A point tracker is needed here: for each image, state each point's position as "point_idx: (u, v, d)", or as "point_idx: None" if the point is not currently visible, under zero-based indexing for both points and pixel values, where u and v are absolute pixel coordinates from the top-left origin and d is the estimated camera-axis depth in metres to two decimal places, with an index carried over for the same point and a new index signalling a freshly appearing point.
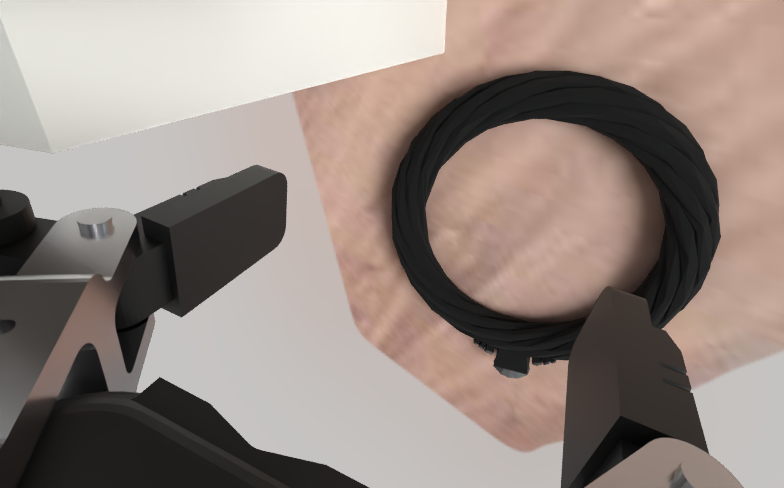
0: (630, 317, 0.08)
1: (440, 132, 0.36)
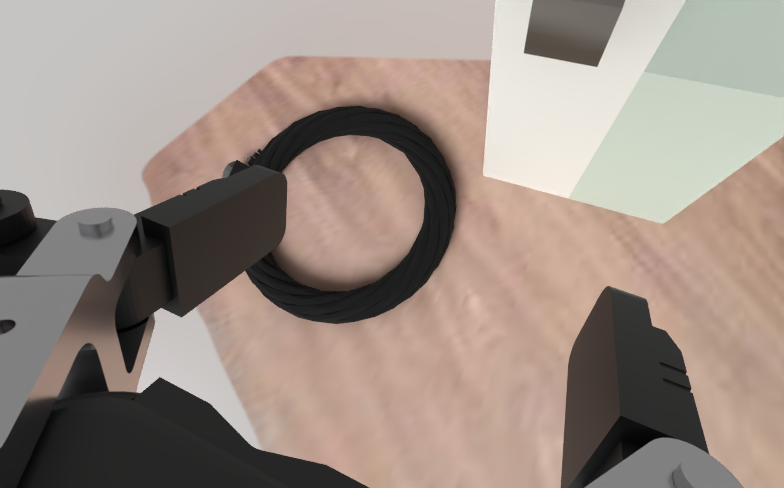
0: (630, 317, 0.08)
1: (431, 157, 0.49)
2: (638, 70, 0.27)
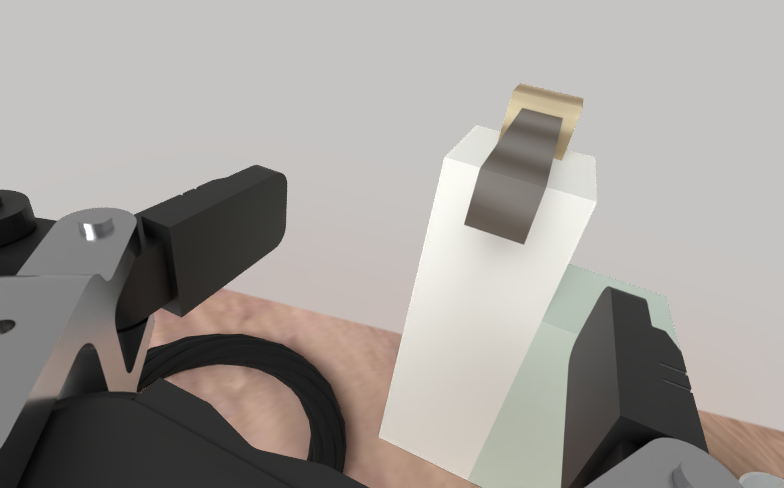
0: (630, 317, 0.08)
1: (328, 402, 0.45)
2: (537, 319, 0.31)
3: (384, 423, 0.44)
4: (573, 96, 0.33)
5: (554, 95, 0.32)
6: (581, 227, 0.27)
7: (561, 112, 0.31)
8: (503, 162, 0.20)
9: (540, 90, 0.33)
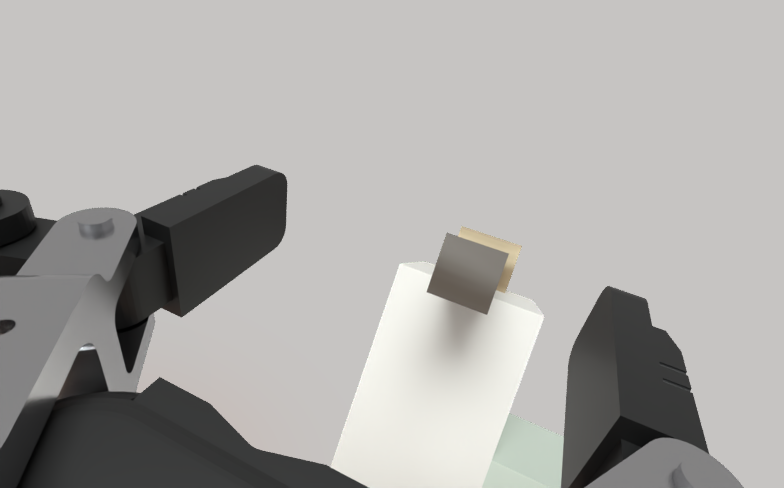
0: (630, 317, 0.08)
1: None
2: (487, 457, 0.28)
3: None
4: None
5: None
6: (530, 343, 0.27)
7: (503, 248, 0.34)
8: None
9: None
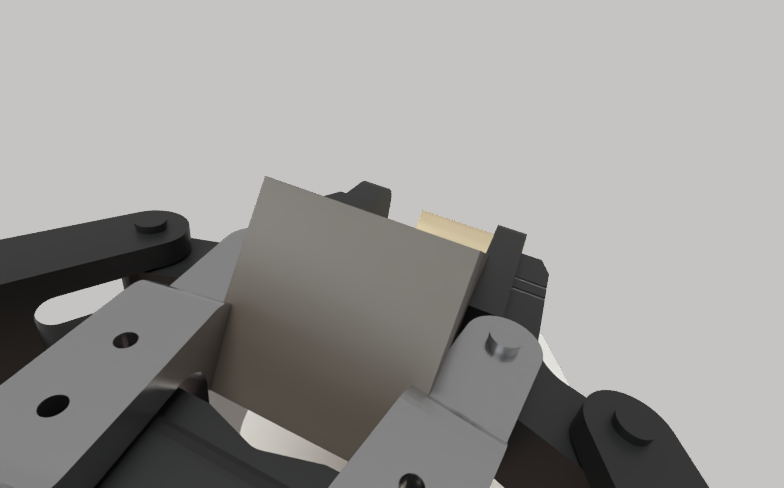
0: (505, 245, 0.09)
1: None
2: None
3: None
4: None
5: None
6: None
7: None
8: None
9: None
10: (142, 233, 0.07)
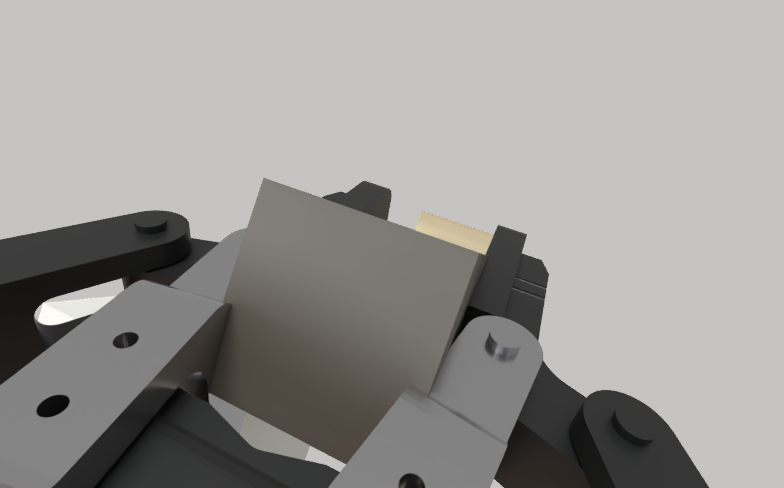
0: (505, 245, 0.09)
1: None
2: None
3: None
4: None
5: None
6: None
7: None
8: (357, 210, 0.07)
9: None
10: (142, 233, 0.07)
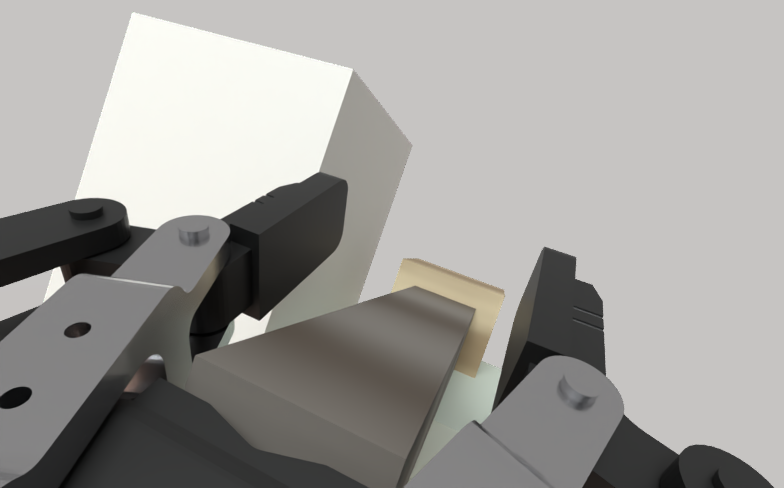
0: (557, 270, 0.09)
1: None
2: None
3: None
4: (490, 285, 0.23)
5: (464, 277, 0.22)
6: (330, 120, 0.15)
7: (473, 299, 0.19)
8: (305, 352, 0.07)
9: (444, 269, 0.23)
10: (79, 219, 0.07)
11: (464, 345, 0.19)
